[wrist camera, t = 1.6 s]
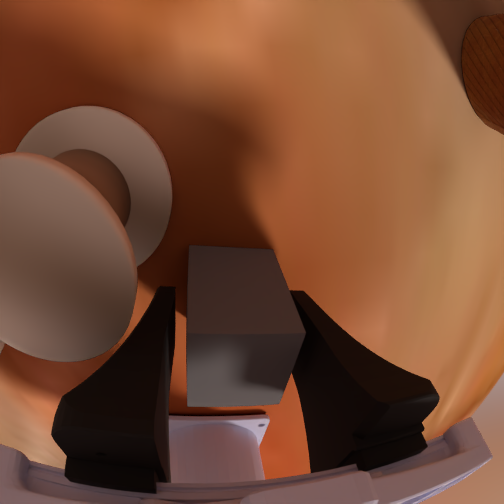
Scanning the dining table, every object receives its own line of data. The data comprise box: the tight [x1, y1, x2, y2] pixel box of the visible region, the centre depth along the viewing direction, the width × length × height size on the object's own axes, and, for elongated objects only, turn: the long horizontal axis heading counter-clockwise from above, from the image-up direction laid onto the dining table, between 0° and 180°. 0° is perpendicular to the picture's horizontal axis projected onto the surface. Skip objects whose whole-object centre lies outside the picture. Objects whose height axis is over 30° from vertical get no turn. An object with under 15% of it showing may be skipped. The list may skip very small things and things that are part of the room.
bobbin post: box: [0, 106, 173, 362], centre depth 9 cm, size 7×7×6 cm
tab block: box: [186, 245, 306, 407], centre depth 12 cm, size 4×4×5 cm
